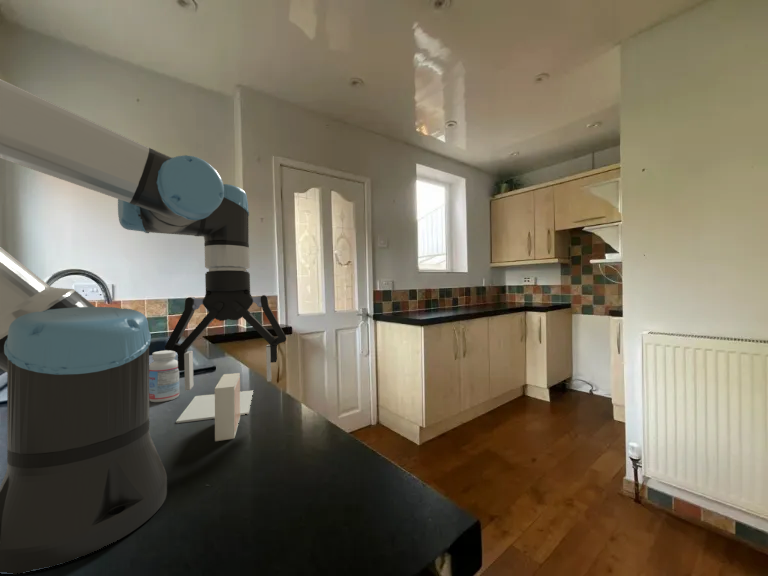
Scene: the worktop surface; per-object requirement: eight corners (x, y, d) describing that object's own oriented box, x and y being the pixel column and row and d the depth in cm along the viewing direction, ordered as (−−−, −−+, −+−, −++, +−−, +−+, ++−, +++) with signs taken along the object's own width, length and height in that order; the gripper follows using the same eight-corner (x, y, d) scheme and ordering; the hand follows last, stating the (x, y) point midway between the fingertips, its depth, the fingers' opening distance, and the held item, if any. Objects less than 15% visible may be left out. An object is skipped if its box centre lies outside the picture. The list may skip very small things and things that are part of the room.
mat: (248, 414, 67) (248, 412, 67) (176, 423, 63) (176, 421, 63) (253, 391, 82) (253, 390, 82) (195, 397, 78) (195, 396, 78)
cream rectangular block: (234, 438, 56) (234, 386, 56) (215, 441, 55) (214, 388, 55) (240, 417, 65) (240, 372, 65) (223, 419, 64) (223, 374, 64)
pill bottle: (148, 398, 78) (148, 351, 78) (178, 393, 82) (177, 348, 82) (148, 405, 73) (148, 355, 73) (180, 399, 77) (180, 352, 77)
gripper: (295, 271, 68) (298, 371, 68) (156, 271, 60) (159, 385, 60) (298, 268, 61) (300, 381, 61) (141, 269, 53) (144, 398, 53)
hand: (230, 383), depth 60 cm, fingers open, 13 cm apart
